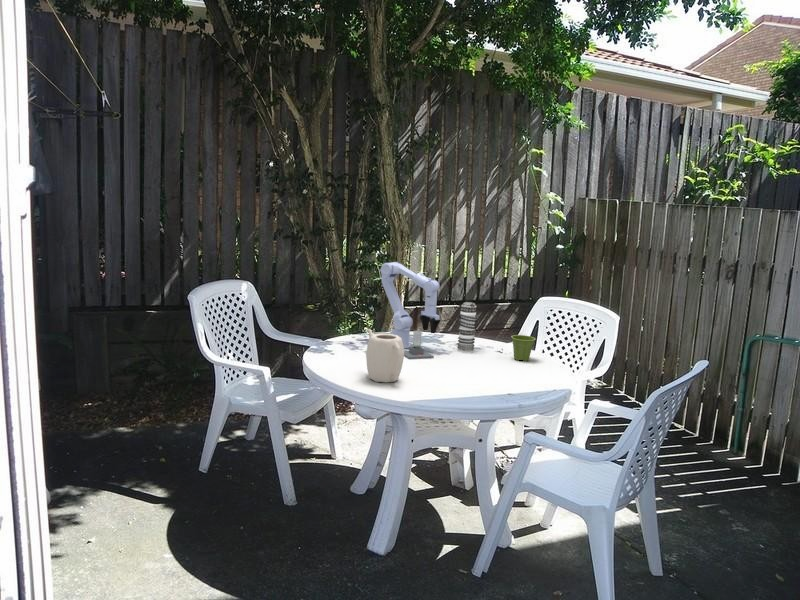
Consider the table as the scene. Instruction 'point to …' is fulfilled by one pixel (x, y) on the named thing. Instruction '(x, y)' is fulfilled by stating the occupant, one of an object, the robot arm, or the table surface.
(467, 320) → the decorative candle
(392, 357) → the cream ceramic pot
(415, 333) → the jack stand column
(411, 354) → the grey socket base
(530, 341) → the plant pot
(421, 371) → the table surface
